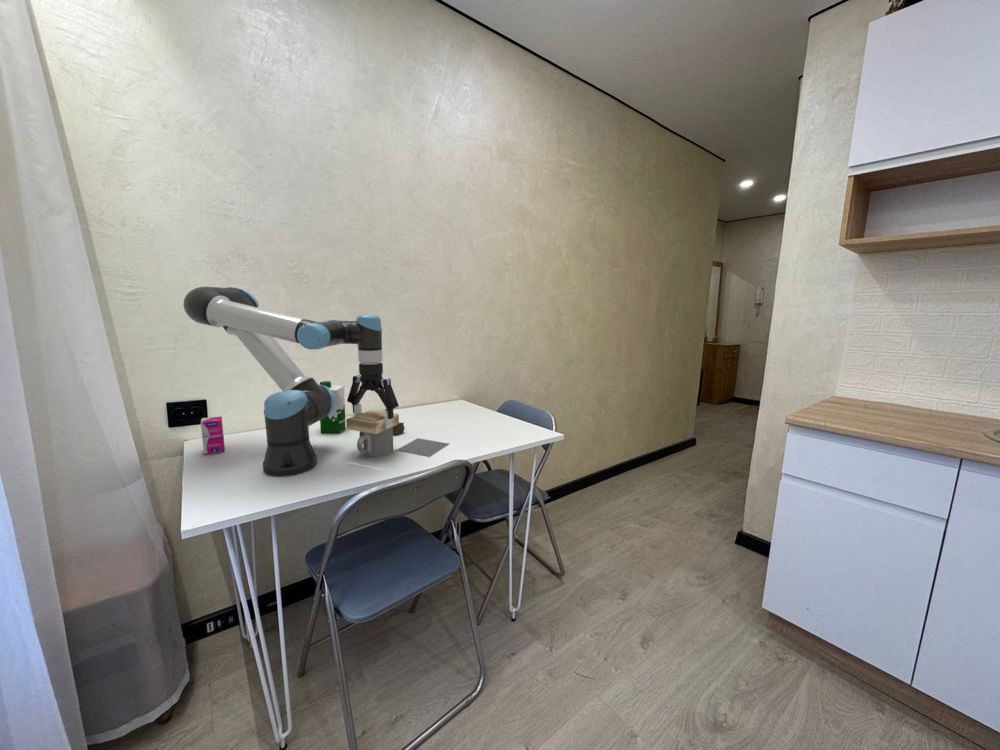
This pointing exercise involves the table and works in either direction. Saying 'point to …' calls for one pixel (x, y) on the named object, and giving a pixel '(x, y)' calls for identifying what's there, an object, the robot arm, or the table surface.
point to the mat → (423, 447)
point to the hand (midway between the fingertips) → (373, 425)
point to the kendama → (394, 429)
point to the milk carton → (334, 411)
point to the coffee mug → (376, 443)
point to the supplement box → (212, 435)
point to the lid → (370, 422)
